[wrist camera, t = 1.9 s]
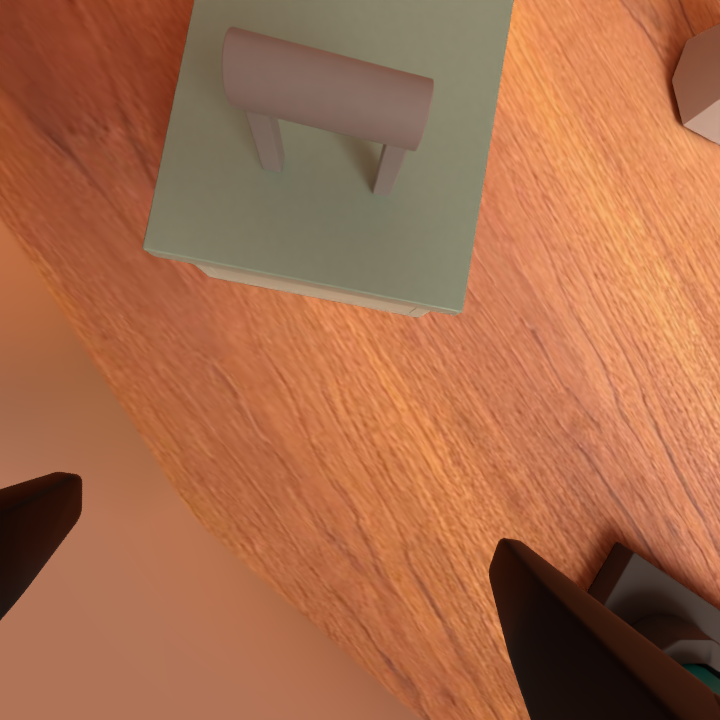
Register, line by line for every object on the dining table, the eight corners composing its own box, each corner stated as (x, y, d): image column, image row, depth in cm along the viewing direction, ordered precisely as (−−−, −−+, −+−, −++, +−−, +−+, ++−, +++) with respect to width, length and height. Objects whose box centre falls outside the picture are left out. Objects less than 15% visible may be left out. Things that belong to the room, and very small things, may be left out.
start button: (696, 757, 18) (736, 799, 16) (635, 718, 18) (669, 756, 16) (733, 687, 18) (776, 720, 17) (674, 647, 18) (711, 677, 16)
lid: (455, 316, 14) (536, 282, 9) (152, 256, 13) (30, 174, 8) (511, -24, 15) (618, -250, 9) (227, -107, 14) (164, -418, 8)
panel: (664, 781, 21) (722, 852, 18) (527, 696, 20) (563, 753, 17) (745, 629, 21) (814, 671, 18) (616, 541, 21) (665, 570, 18)
